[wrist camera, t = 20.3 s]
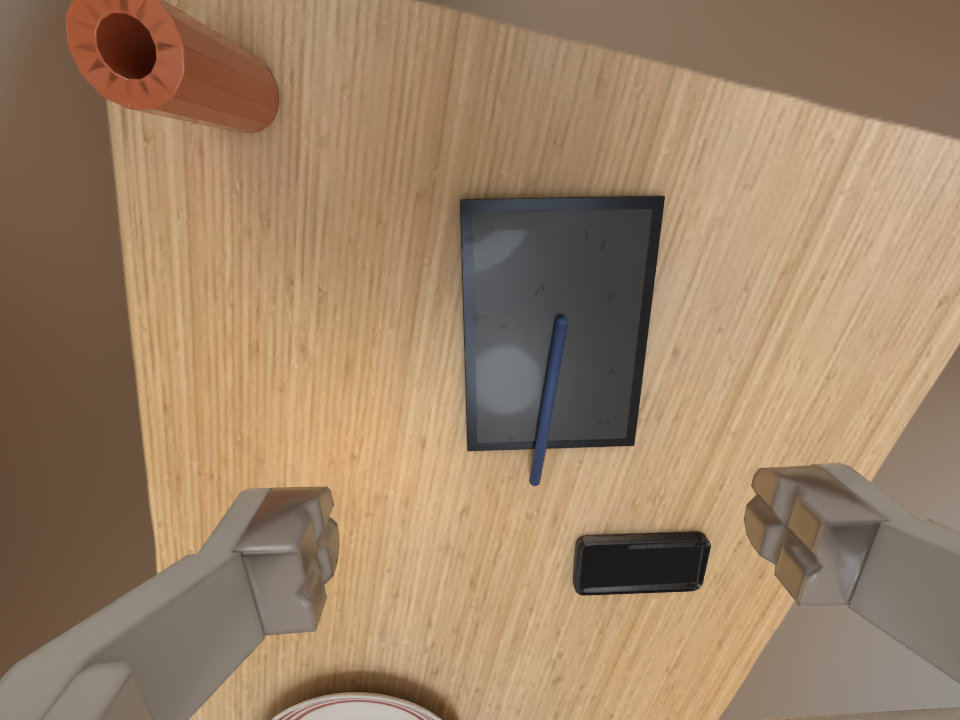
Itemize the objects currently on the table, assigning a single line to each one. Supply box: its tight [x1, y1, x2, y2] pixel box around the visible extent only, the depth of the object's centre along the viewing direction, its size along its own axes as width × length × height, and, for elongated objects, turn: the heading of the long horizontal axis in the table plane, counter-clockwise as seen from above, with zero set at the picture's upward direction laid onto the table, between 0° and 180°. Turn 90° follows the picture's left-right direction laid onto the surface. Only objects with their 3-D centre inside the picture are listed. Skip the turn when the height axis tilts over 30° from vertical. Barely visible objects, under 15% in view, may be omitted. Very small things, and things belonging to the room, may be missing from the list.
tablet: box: [460, 196, 665, 451], centre depth 43 cm, size 24×17×1 cm
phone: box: [573, 532, 711, 595], centre depth 53 cm, size 8×1×15 cm
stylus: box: [529, 317, 568, 486], centre depth 44 cm, size 1×1×18 cm
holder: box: [66, 0, 279, 133], centre depth 29 cm, size 6×6×13 cm
